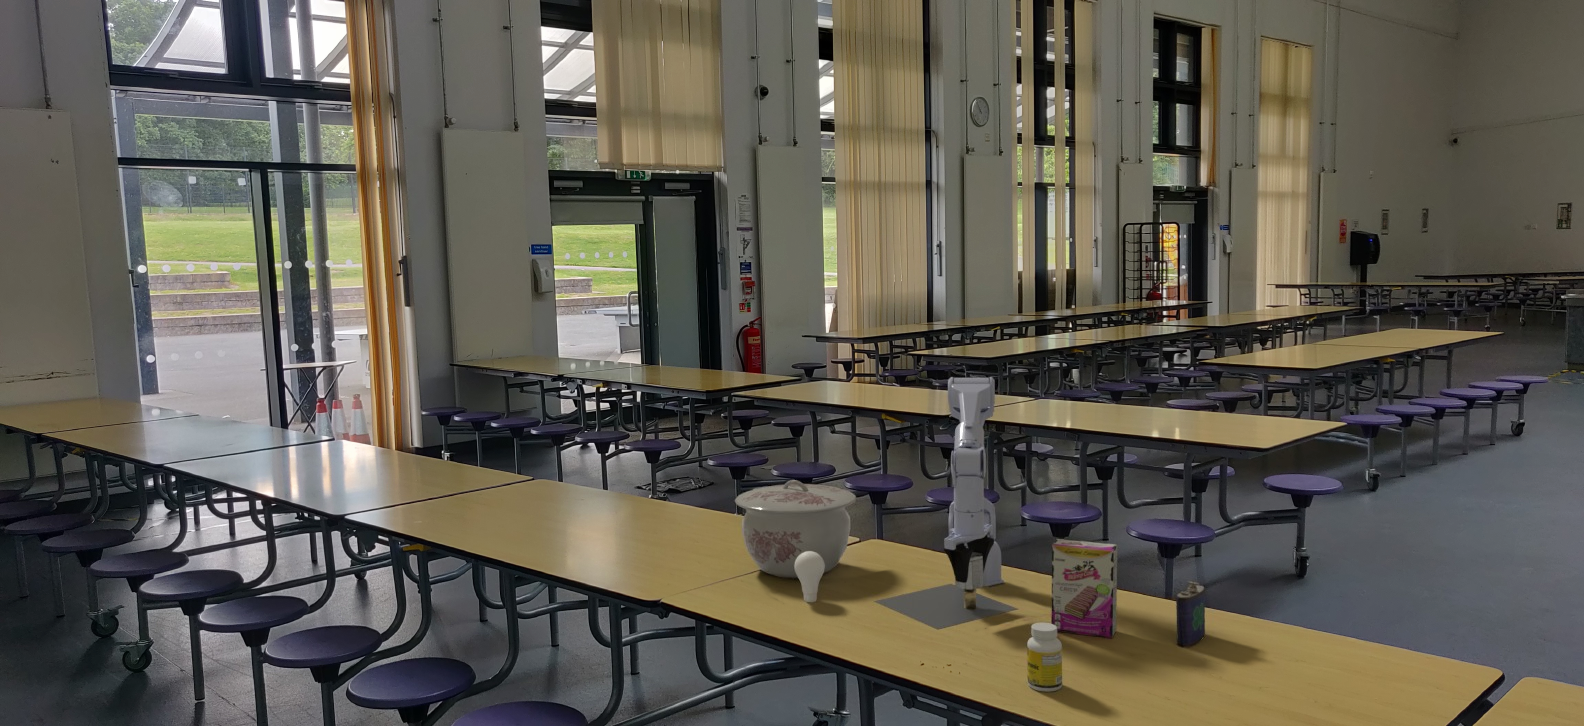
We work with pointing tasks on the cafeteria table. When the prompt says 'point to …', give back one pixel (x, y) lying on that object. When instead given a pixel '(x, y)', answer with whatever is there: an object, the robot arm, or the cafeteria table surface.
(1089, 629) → the candy bar box
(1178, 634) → the flask
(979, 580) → the cylinder
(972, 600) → the tan rounded cylinder
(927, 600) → the base board
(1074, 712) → the cafeteria table surface
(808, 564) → the lightbulb
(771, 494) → the chamber pot
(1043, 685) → the supplement bottle
